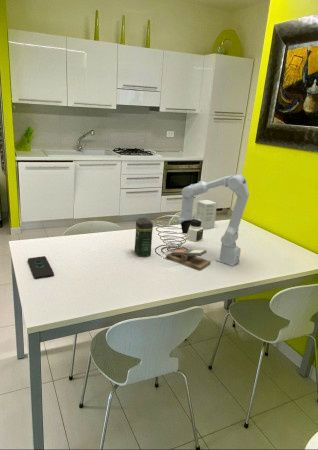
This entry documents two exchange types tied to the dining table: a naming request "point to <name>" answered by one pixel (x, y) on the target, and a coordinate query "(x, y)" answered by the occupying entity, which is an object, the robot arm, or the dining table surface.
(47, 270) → the smart home device
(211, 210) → the supplement box
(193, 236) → the medicine bottle
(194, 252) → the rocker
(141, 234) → the coffee jar
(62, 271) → the dining table surface
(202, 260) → the switch base
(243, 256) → the dining table surface
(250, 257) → the dining table surface
